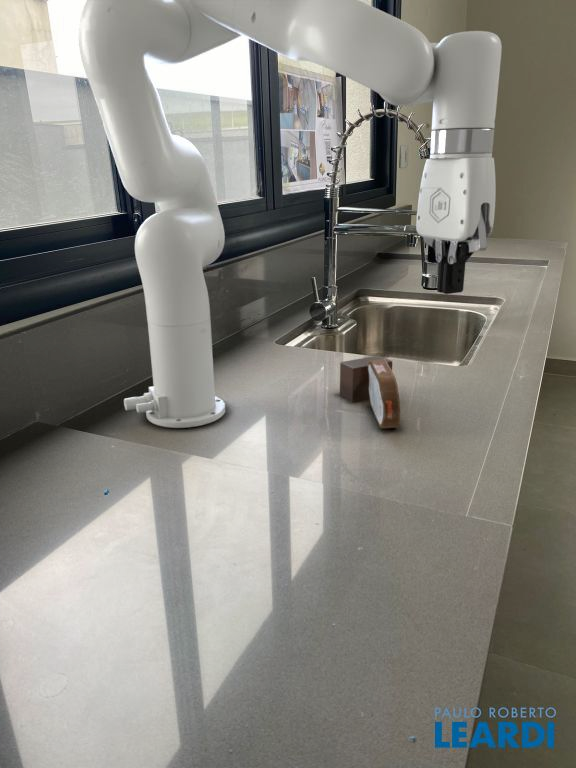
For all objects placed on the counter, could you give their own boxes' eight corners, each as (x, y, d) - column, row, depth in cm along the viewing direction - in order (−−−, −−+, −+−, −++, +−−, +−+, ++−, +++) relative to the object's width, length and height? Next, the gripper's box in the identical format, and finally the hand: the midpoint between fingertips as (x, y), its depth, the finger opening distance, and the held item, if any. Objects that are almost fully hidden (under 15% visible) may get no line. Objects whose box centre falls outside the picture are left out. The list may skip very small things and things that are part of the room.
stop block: (352, 402, 101) (353, 368, 99) (339, 395, 105) (340, 362, 103) (391, 394, 105) (392, 361, 103) (377, 387, 108) (378, 355, 106)
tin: (400, 437, 88) (403, 382, 85) (379, 437, 88) (381, 383, 85) (383, 400, 102) (385, 352, 99) (364, 400, 102) (366, 352, 99)
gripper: (400, 148, 80) (393, 286, 86) (482, 143, 68) (468, 305, 74) (443, 148, 83) (434, 281, 90) (530, 144, 71) (512, 298, 77)
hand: (449, 291), depth 82 cm, fingers closed
